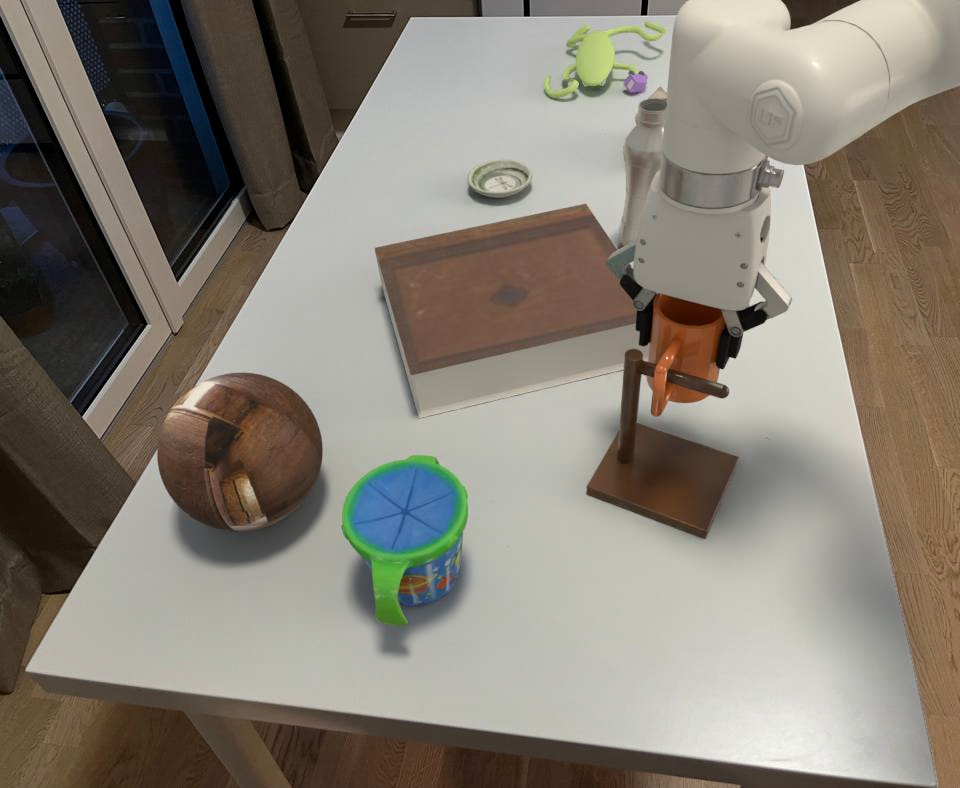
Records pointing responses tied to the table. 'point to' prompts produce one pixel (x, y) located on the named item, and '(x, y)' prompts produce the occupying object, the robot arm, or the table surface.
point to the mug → (682, 347)
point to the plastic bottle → (641, 163)
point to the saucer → (499, 177)
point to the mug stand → (663, 460)
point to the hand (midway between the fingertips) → (685, 346)
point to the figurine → (602, 59)
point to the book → (506, 308)
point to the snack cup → (407, 532)
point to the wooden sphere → (239, 451)
